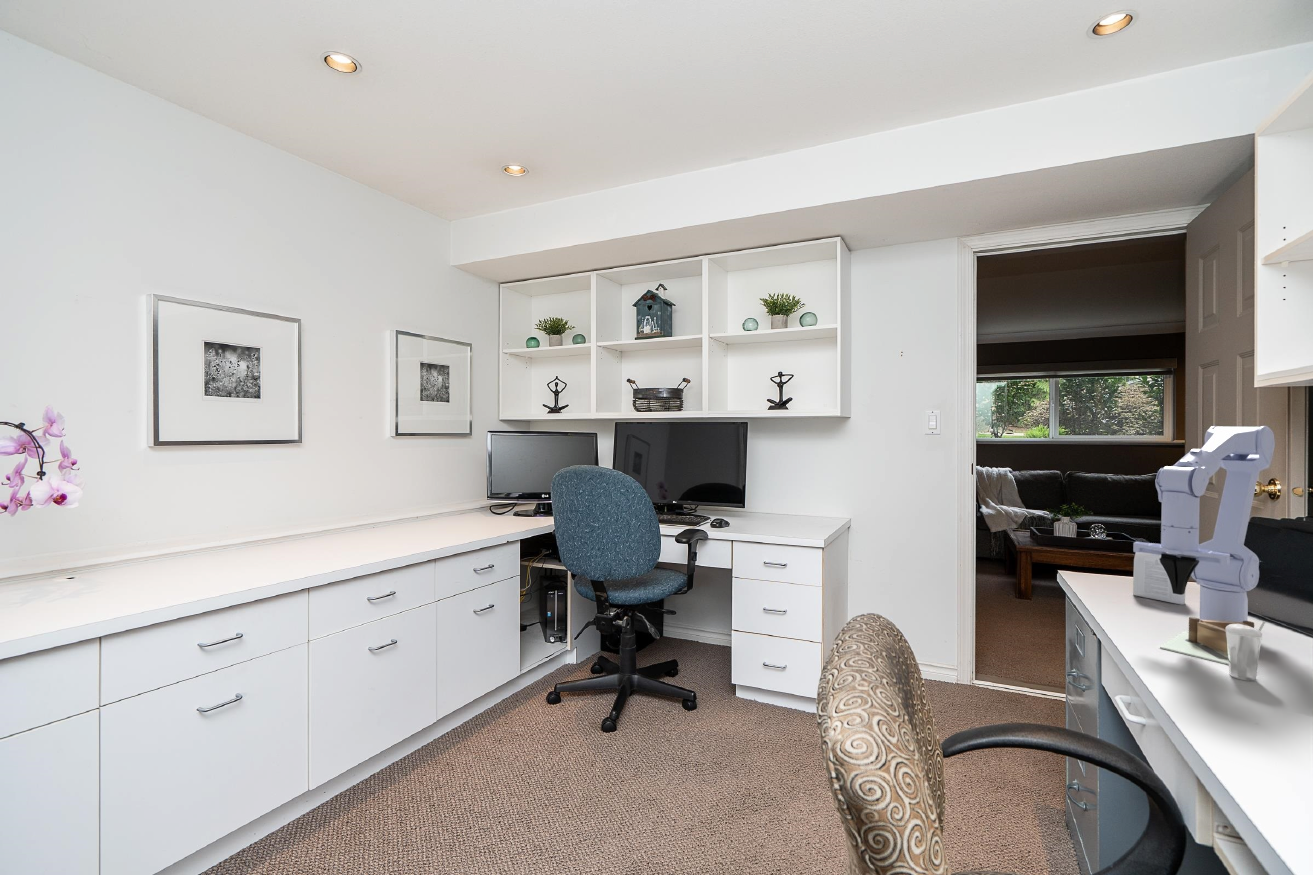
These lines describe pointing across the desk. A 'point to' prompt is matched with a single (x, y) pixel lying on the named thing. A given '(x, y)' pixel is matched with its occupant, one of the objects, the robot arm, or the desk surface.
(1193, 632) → the fence fixed
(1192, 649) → the card
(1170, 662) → the desk surface
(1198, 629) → the fence wing
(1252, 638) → the milkshake
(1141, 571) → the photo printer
